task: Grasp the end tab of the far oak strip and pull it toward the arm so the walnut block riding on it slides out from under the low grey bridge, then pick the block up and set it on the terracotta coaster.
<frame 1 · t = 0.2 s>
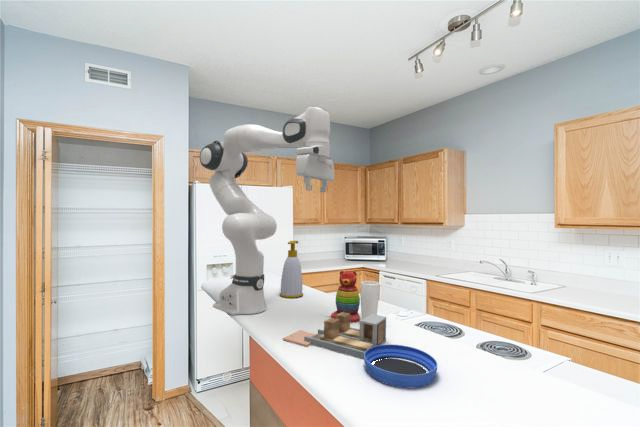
hand: (316, 191, 117), 47 cm above the countertop, fingers open, 8 cm apart
blue round shallow tray: (399, 372, 84), on the countertop
drinking glass: (368, 324, 120), on the countertop
stacking bear: (346, 318, 127), on the countertop
strip far: (357, 326, 104), point 4 cm above the countertop, slide at 0.0 cm, touching walnut block
walnut block: (371, 336, 101), point 2 cm above the countertop, touching strip far
soap bottle: (291, 295, 158), on the countertop
strip near: (346, 333, 98), point 4 cm above the countertop, slide at 0.0 cm
coaster: (303, 338, 103), on the countertop
lane board: (345, 341, 102), on the countertop
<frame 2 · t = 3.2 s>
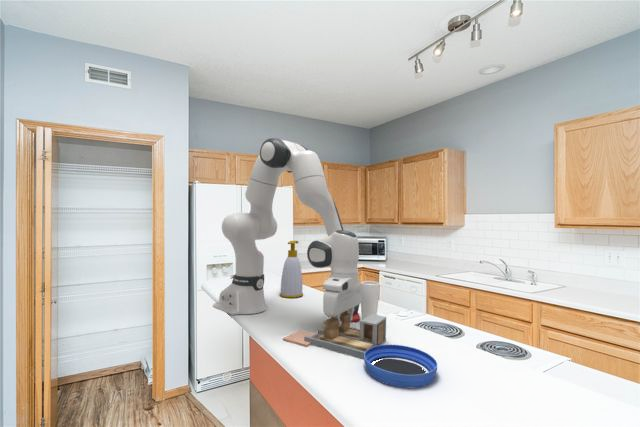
hand: (343, 323, 107), 4 cm above the countertop, fingers open, 6 cm apart
nothing on the countertop moved.
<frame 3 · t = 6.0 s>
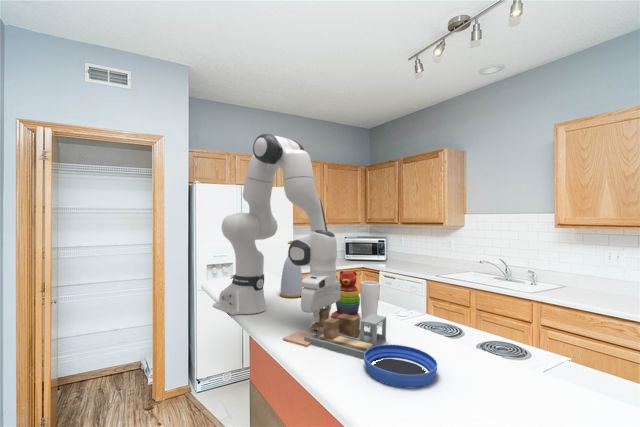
hand: (321, 319, 111), 4 cm above the countertop, fingers closed on strip far, 4 cm apart
strip far: (334, 322, 108), point 4 cm above the countertop, slide at 8.1 cm, touching gripper, walnut block
walnut block: (348, 330, 106), point 2 cm above the countertop, touching strip far
everything else where it was.
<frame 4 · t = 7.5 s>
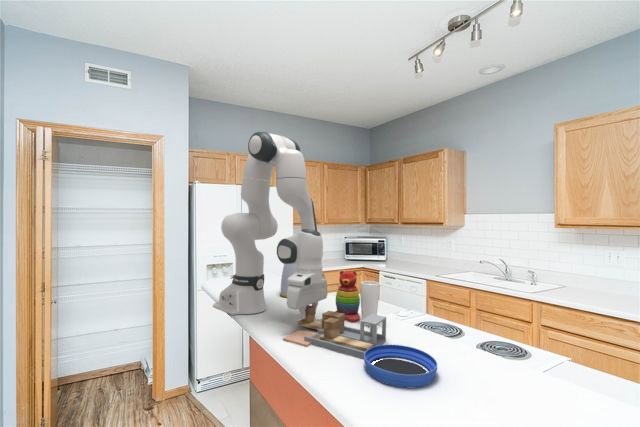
hand: (308, 316, 114), 4 cm above the countertop, fingers closed on strip far, 4 cm apart
strip far: (320, 318, 111), point 4 cm above the countertop, slide at 13.6 cm, touching gripper, walnut block
walnut block: (333, 327, 109), point 2 cm above the countertop, touching strip far
everything else where it was.
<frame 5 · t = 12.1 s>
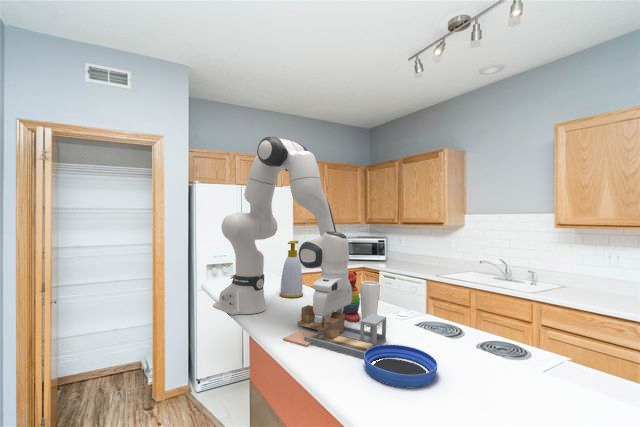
hand: (333, 323, 109), 4 cm above the countertop, fingers closed on walnut block, 4 cm apart
strip far: (320, 318, 111), point 4 cm above the countertop, slide at 13.6 cm, touching walnut block
walnut block: (333, 327, 109), point 2 cm above the countertop, touching gripper, strip far
everything else where it was.
when the fingers open (3 cm above the countertop, at t = 17.9 s): walnut block stays where it is, resting on coaster, lane board.
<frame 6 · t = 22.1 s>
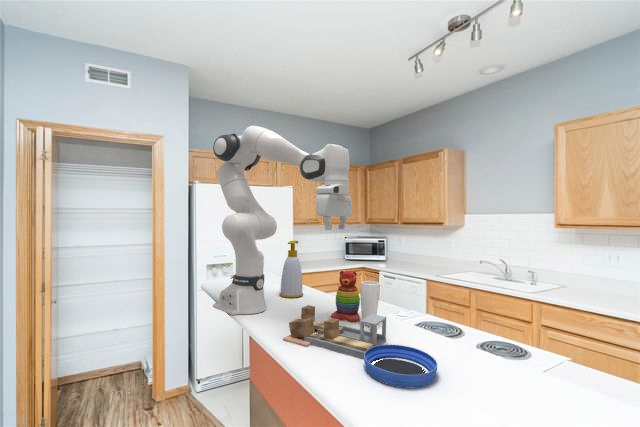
hand: (335, 229, 115), 34 cm above the countertop, fingers open, 8 cm apart
strip far: (320, 318, 111), point 4 cm above the countertop, slide at 13.6 cm
walnut block: (303, 334, 103), point 1 cm above the countertop, tilted 14°, touching coaster, lane board
everything else where it was.
at the end: strip far slide at 13.6 cm; walnut block inside the target area on the coaster (0.1 cm from its centre), point 1.3 cm above the coaster's base; the gripper is holding nothing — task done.
